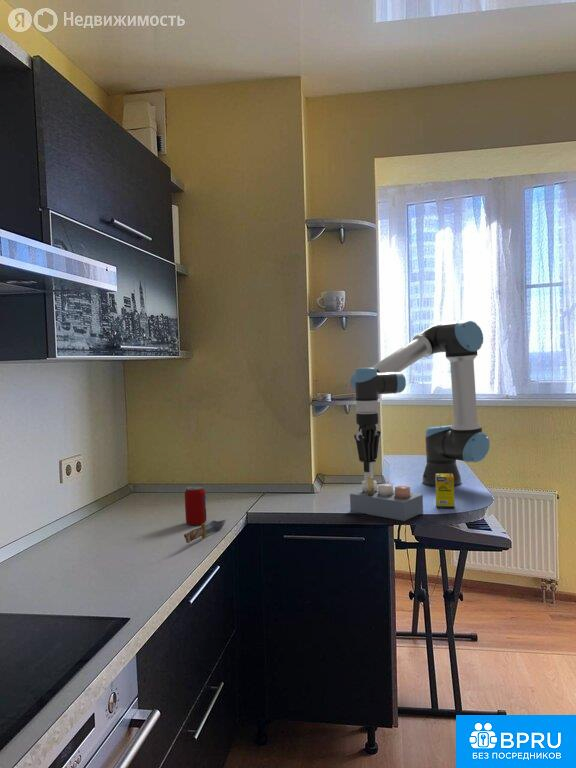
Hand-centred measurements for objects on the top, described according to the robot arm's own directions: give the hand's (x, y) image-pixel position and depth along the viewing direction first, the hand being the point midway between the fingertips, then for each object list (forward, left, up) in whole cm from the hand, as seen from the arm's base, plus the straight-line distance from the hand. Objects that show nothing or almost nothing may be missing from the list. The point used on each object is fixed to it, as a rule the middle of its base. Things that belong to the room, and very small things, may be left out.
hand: (368, 480), depth 200 cm
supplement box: (-17, +20, -10) cm, 28 cm away
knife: (+54, -22, -10) cm, 59 cm away
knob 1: (0, 0, -9) cm, 9 cm away
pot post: (+4, +3, -4) cm, 6 cm away
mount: (0, +7, -10) cm, 12 cm away
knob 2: (0, +7, -9) cm, 11 cm away
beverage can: (+46, -37, -10) cm, 60 cm away
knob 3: (0, +13, -9) cm, 16 cm away
